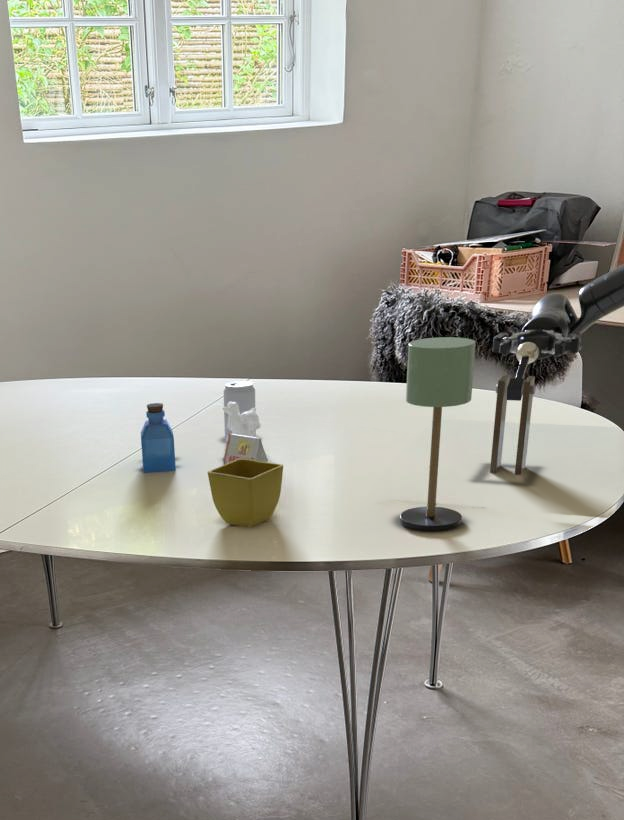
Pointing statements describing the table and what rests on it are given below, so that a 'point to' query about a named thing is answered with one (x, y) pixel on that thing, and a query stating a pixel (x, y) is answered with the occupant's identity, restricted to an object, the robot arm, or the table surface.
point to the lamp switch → (521, 369)
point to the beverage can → (239, 399)
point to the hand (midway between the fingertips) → (530, 350)
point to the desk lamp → (437, 412)
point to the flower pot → (246, 491)
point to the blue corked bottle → (157, 441)
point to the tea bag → (244, 449)
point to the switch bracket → (500, 423)
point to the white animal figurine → (241, 420)
